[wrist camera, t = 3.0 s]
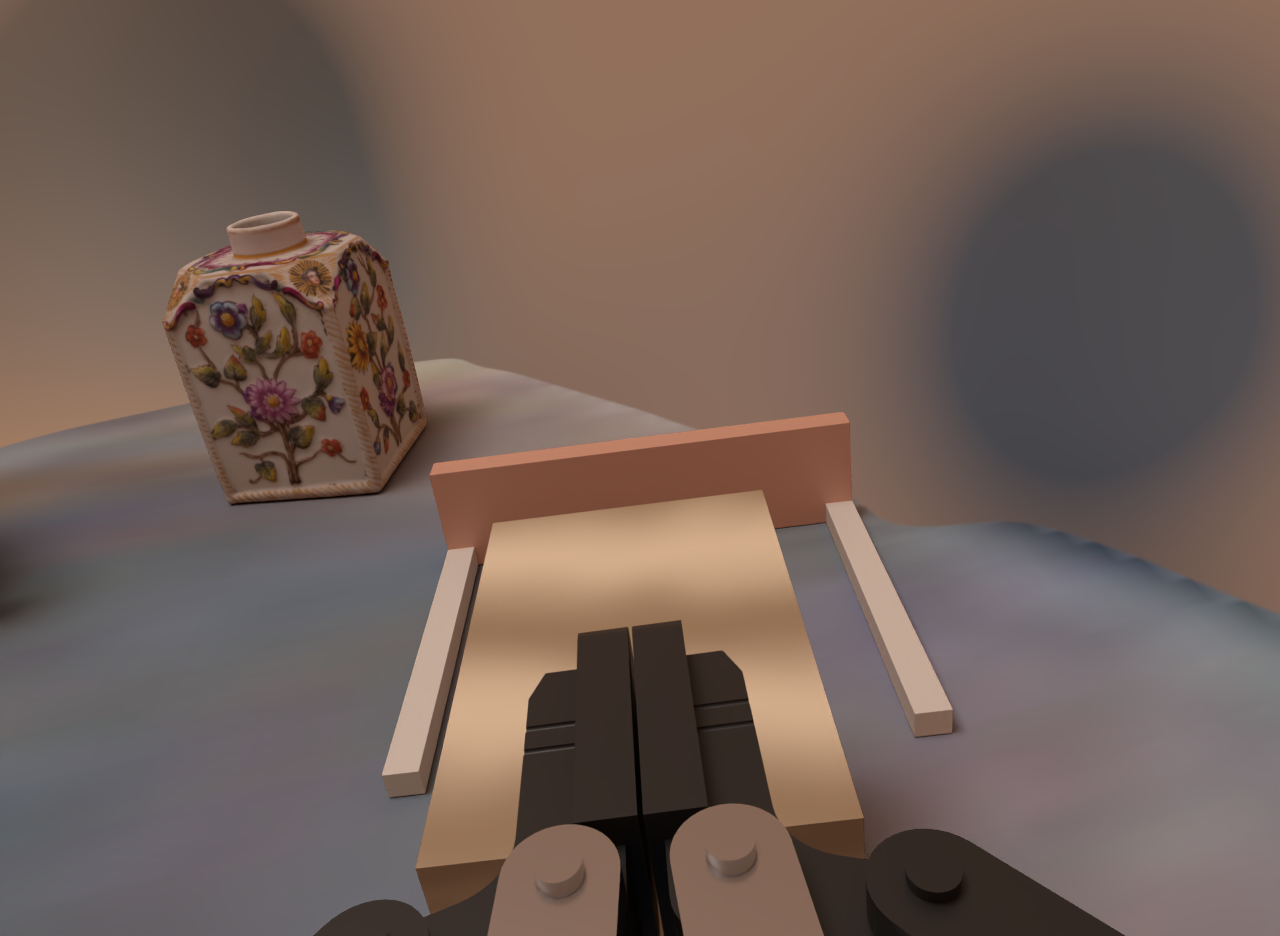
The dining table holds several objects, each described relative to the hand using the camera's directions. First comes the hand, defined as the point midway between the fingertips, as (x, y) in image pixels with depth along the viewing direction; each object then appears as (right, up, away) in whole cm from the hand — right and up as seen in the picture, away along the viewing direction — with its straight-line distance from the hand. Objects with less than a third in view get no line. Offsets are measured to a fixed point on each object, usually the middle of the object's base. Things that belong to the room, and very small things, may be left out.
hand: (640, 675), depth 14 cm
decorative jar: (-23, +3, +57) cm, 61 cm away
